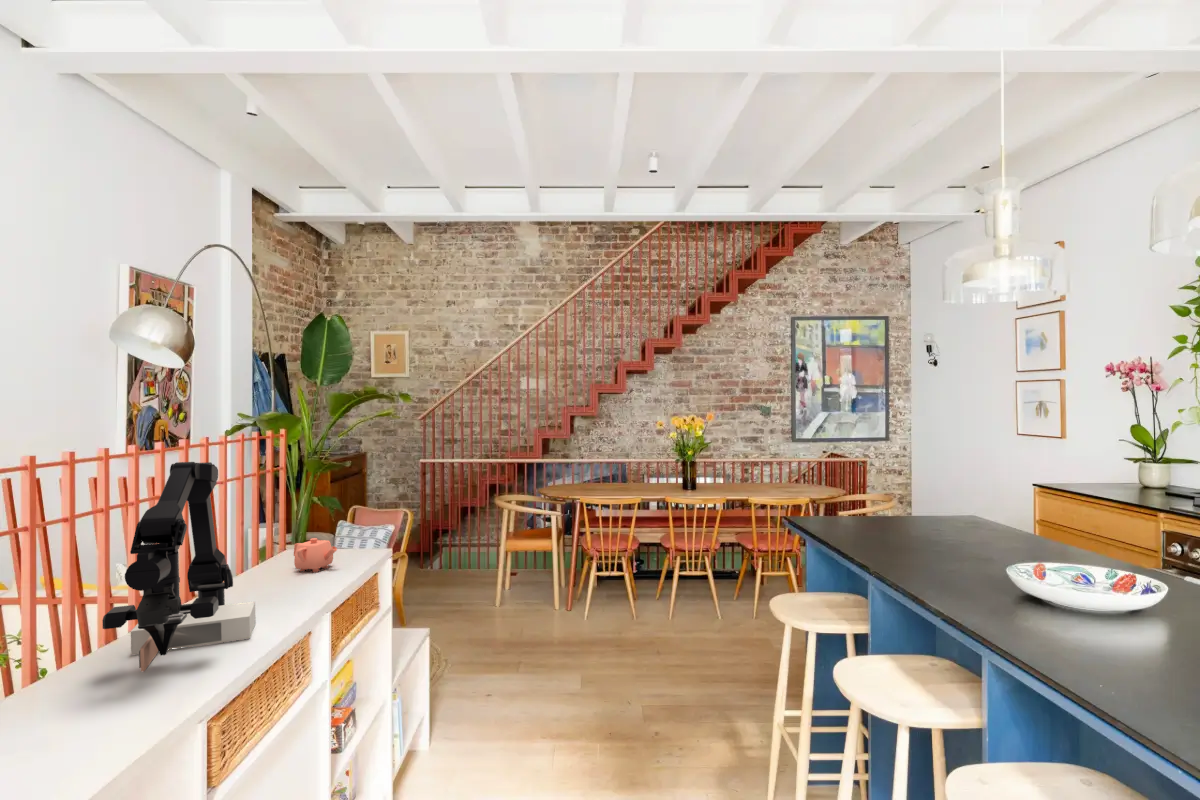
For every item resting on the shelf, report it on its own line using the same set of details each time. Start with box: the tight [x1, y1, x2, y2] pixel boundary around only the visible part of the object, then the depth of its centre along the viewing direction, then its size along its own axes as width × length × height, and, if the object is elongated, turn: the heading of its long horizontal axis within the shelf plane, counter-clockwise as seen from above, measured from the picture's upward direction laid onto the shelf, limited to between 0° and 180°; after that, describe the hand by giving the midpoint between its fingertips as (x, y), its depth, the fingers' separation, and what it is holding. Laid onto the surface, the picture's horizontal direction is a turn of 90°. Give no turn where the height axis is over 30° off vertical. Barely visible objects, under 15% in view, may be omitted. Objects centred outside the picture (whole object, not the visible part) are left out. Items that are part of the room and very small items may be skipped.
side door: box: [138, 636, 159, 673], centre depth 133 cm, size 1×12×4 cm, turn 22°
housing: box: [130, 601, 257, 656], centre depth 147 cm, size 12×22×5 cm, turn 112°
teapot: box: [293, 537, 338, 573], centre depth 207 cm, size 12×12×10 cm
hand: (163, 654), depth 132 cm, fingers closed
